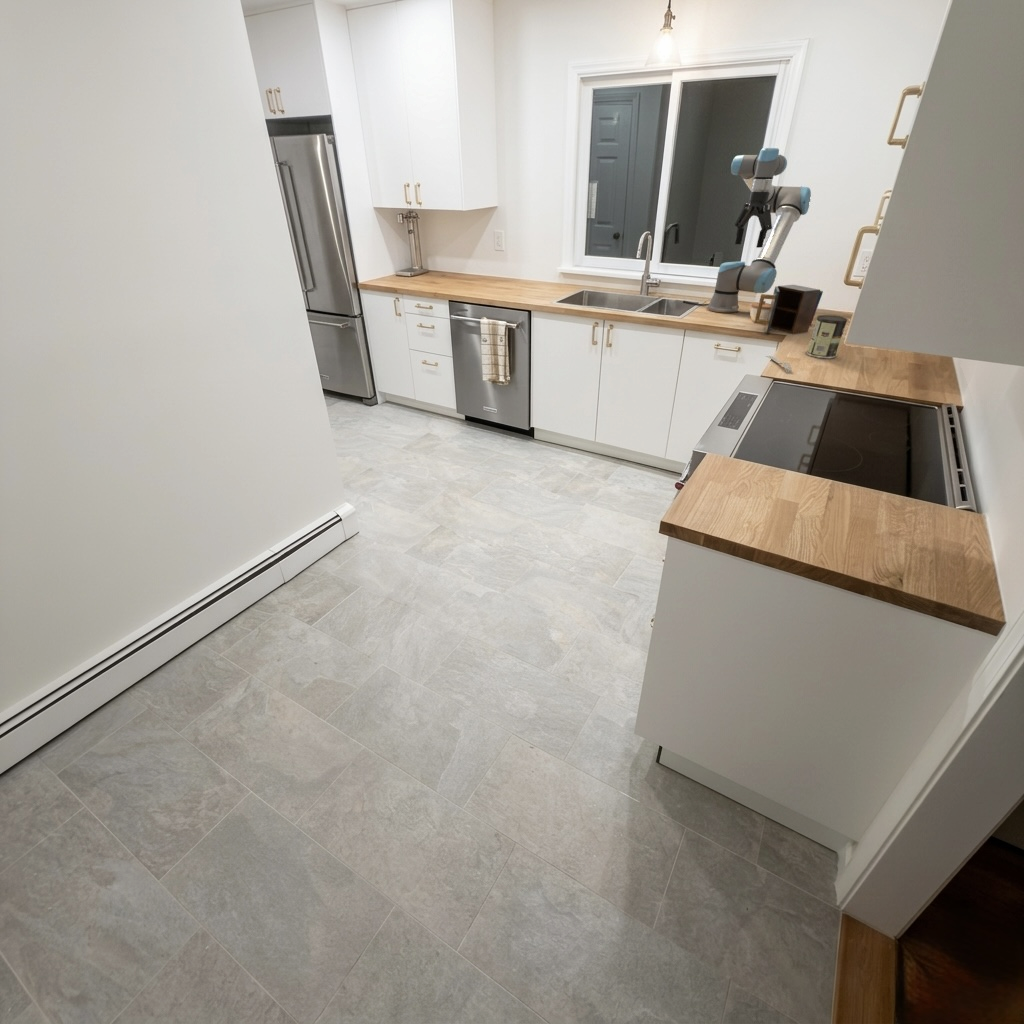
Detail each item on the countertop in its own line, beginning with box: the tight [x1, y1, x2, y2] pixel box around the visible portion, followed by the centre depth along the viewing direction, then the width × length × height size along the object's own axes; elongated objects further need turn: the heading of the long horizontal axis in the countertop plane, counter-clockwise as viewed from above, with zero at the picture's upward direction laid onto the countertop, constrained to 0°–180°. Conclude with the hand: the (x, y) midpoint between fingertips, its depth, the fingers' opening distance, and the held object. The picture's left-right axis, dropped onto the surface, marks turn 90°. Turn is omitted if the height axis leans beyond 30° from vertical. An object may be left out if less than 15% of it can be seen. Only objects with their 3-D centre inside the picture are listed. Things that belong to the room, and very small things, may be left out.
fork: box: [765, 355, 793, 374], centre depth 198 cm, size 3×21×3 cm, turn 178°
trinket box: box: [749, 300, 771, 323], centre depth 256 cm, size 11×11×9 cm
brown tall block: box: [810, 290, 824, 326], centre depth 251 cm, size 7×7×15 cm
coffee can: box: [806, 314, 848, 360], centre depth 206 cm, size 10×10×14 cm
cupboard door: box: [753, 285, 779, 335], centre depth 239 cm, size 7×14×18 cm, turn 160°
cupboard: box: [770, 284, 821, 335], centre depth 240 cm, size 10×14×18 cm
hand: (748, 245), depth 242 cm, fingers open, 13 cm apart
